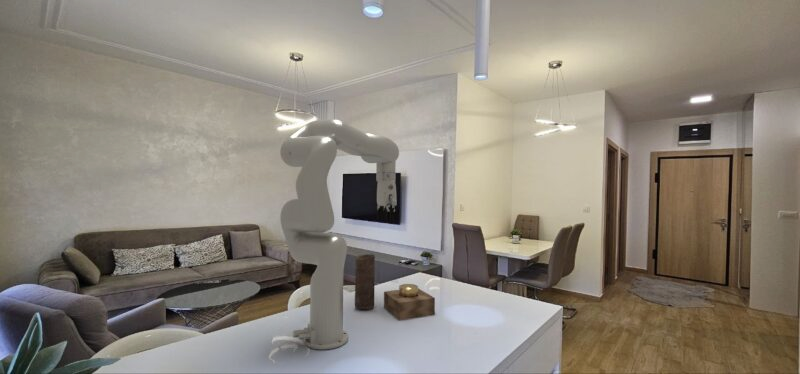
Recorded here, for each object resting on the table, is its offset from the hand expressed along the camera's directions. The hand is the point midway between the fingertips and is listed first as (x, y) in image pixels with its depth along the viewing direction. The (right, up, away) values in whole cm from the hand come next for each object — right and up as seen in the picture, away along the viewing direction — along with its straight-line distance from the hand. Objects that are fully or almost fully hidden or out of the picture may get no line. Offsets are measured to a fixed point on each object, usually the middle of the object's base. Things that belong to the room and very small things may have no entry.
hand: (385, 221), depth 136 cm
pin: (+9, -32, -8) cm, 34 cm away
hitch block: (+9, -32, -8) cm, 34 cm away
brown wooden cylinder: (-8, -32, -6) cm, 34 cm away
